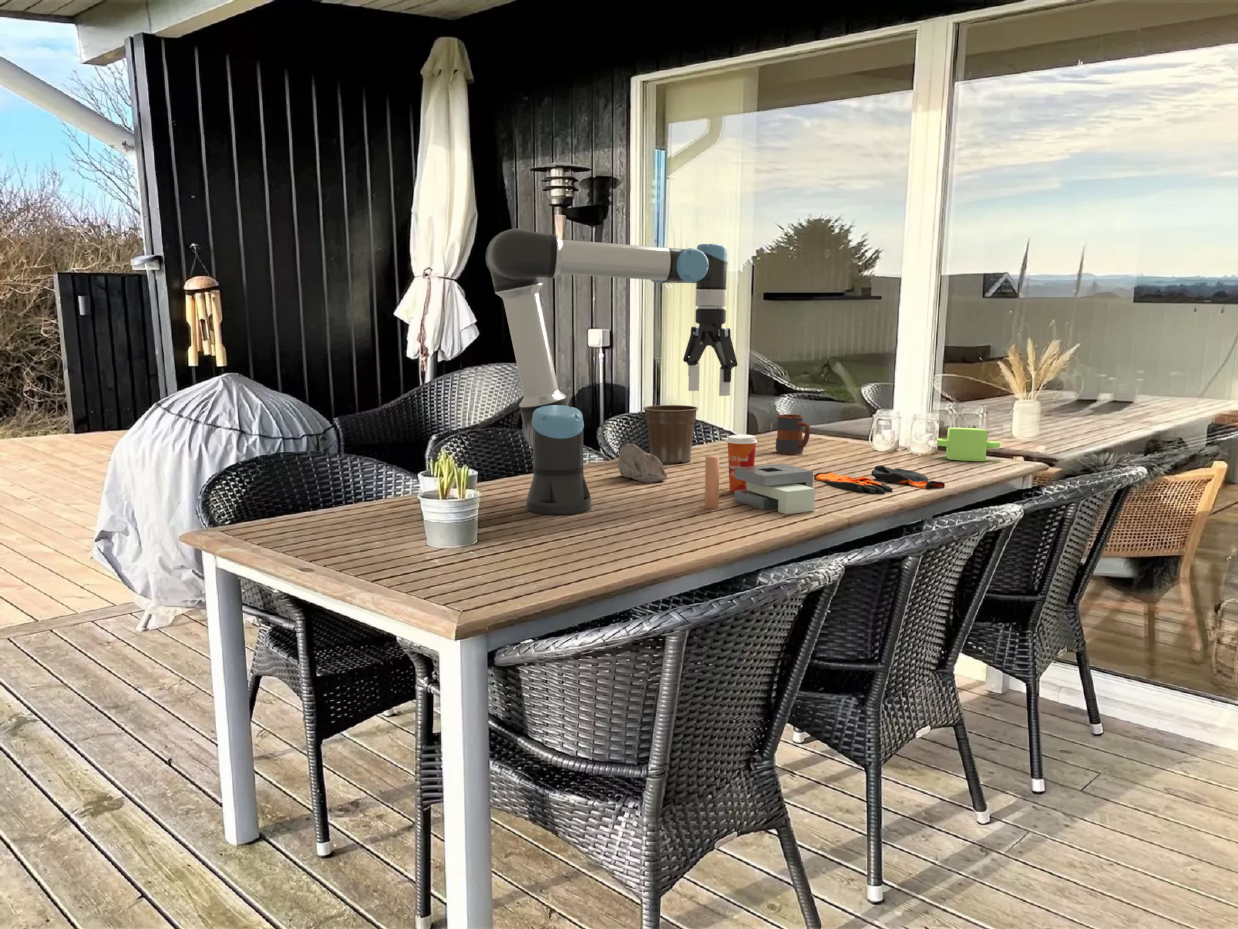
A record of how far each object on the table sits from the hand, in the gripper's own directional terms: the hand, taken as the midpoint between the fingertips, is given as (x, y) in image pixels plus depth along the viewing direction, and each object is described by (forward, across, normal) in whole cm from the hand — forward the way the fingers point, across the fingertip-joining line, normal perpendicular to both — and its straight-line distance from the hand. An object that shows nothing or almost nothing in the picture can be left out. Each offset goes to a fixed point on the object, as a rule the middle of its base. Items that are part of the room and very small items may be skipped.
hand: (708, 393), depth 248 cm
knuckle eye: (+24, -25, -4) cm, 35 cm away
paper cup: (+25, -6, -6) cm, 26 cm away
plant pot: (+25, +41, -15) cm, 51 cm away
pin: (+25, -19, +11) cm, 33 cm away
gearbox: (+24, -1, -95) cm, 98 cm away
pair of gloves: (+25, -16, -44) cm, 53 cm away
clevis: (+24, -21, -4) cm, 33 cm away
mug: (+24, +34, -56) cm, 70 cm away
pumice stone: (+25, +20, +7) cm, 33 cm away
